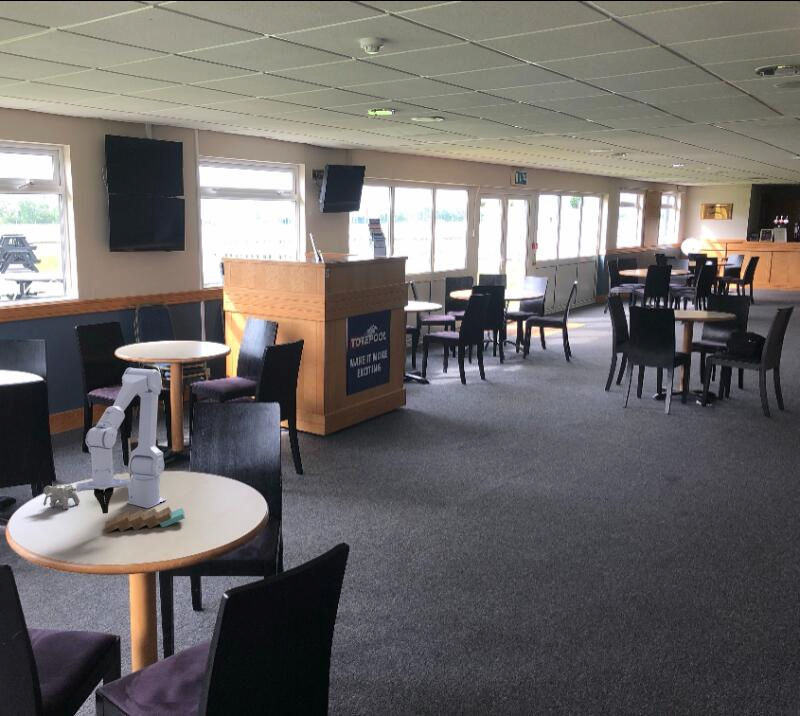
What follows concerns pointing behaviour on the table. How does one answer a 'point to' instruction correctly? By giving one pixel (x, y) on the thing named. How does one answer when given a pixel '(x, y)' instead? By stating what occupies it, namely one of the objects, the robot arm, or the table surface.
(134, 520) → the domino
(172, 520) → the teal domino
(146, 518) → the domino
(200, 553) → the table surface
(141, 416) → the robot arm
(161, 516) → the domino
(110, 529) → the domino
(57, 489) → the gray elephant figurine
